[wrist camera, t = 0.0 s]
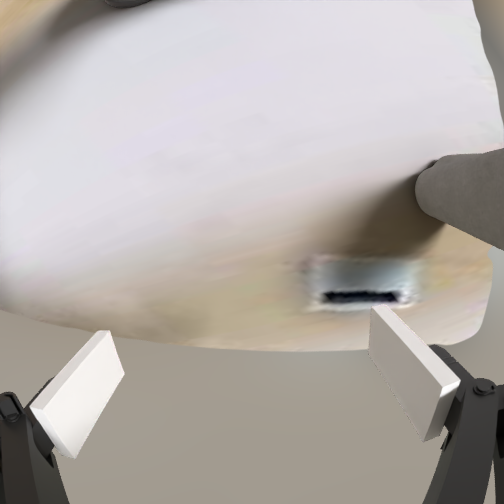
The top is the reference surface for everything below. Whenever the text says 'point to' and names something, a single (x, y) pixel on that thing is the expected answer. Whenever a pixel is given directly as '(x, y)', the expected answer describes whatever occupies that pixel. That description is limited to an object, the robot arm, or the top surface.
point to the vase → (466, 194)
